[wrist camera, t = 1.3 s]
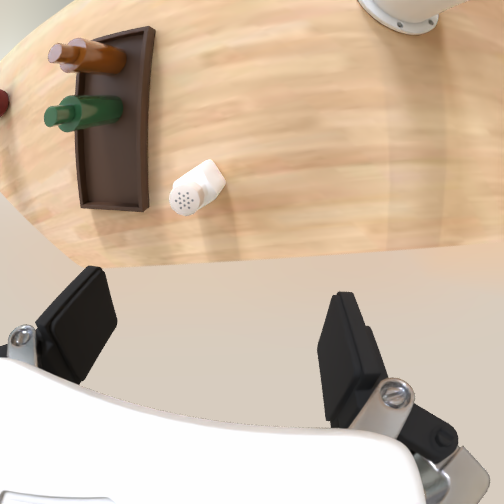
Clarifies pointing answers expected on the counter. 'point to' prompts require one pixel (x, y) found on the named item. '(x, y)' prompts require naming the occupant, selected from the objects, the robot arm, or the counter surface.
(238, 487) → the robot arm
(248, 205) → the counter surface
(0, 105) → the cocoa
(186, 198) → the salt shaker
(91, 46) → the amber bottle
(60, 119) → the green bottle
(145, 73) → the tray
